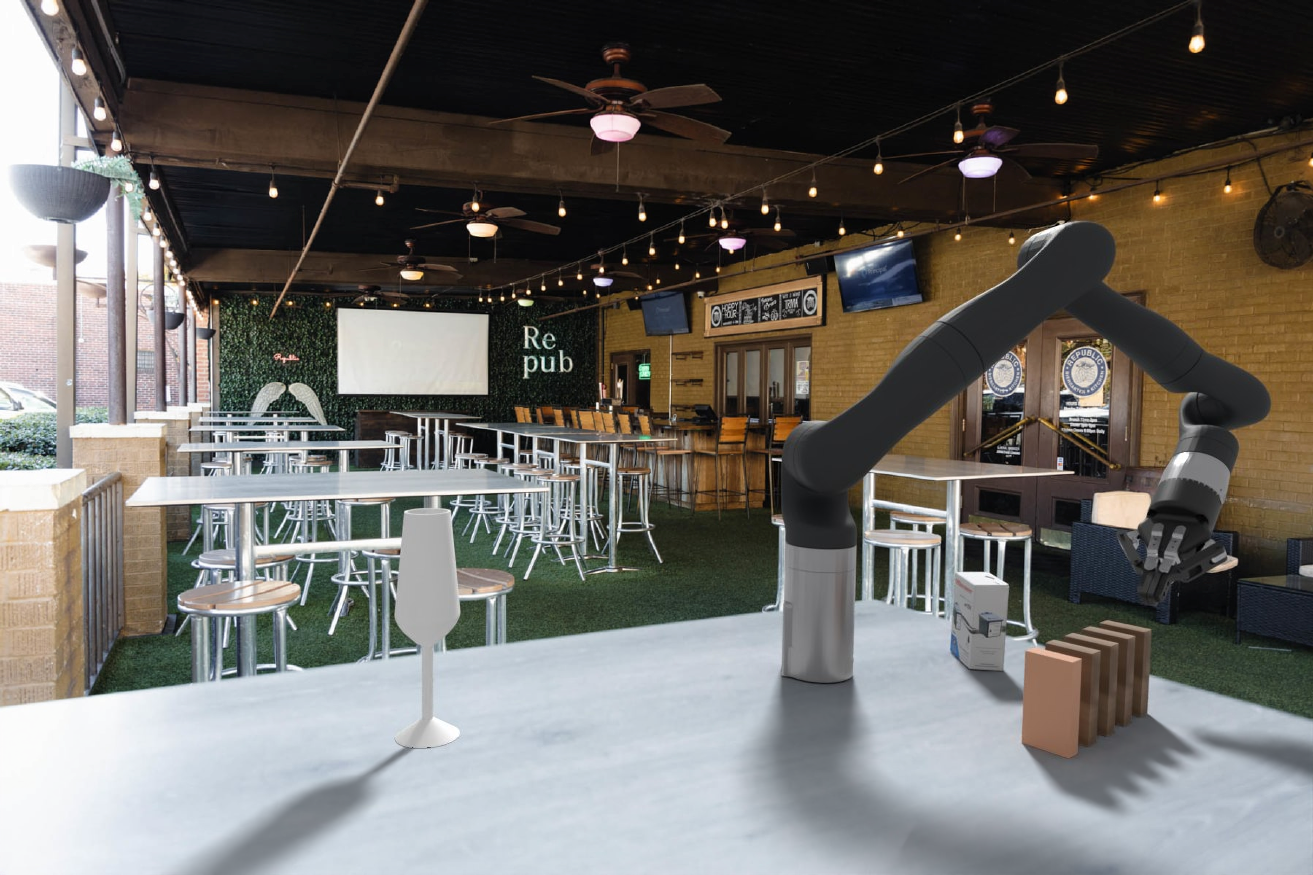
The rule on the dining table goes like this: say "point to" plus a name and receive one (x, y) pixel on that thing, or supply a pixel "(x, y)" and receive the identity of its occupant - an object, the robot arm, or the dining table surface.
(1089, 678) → the tile
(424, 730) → the champagne flute
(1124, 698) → the tile
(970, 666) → the ink box
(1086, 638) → the tile
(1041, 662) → the tile
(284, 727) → the dining table surface
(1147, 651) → the tile
